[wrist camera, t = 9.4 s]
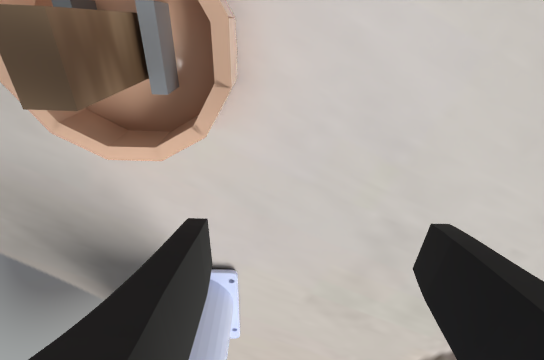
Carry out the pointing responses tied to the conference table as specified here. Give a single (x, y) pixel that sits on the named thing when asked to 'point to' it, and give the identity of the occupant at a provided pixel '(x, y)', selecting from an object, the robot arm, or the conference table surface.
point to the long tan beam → (70, 54)
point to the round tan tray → (155, 81)
